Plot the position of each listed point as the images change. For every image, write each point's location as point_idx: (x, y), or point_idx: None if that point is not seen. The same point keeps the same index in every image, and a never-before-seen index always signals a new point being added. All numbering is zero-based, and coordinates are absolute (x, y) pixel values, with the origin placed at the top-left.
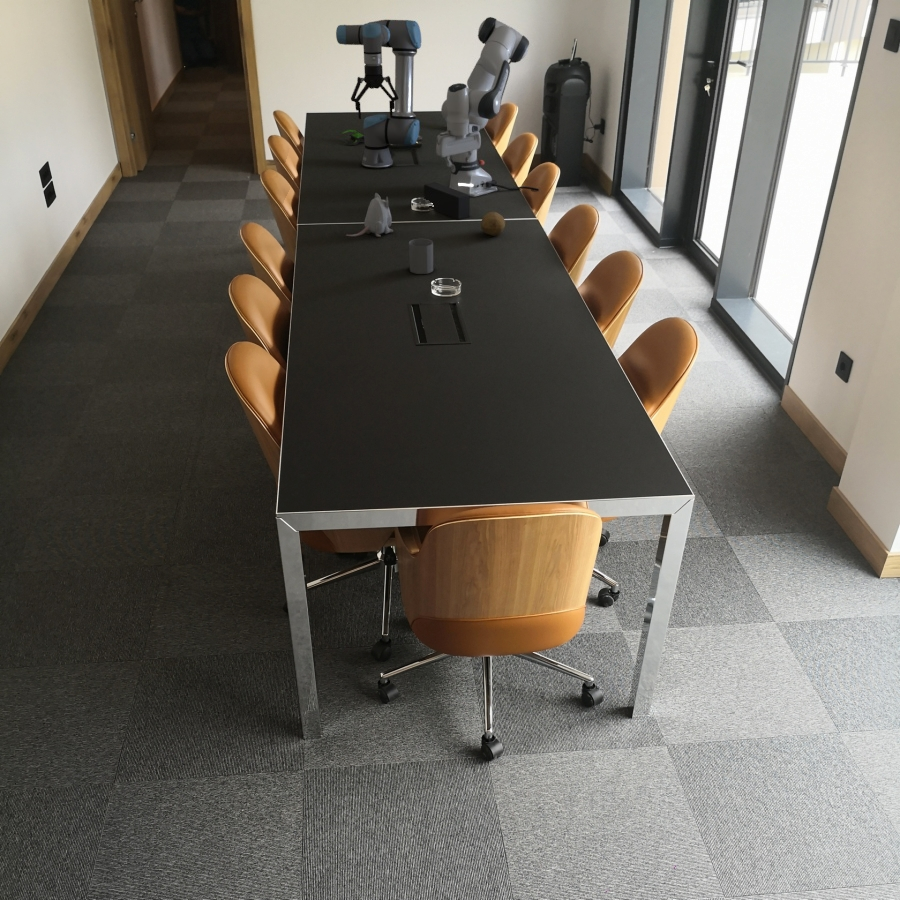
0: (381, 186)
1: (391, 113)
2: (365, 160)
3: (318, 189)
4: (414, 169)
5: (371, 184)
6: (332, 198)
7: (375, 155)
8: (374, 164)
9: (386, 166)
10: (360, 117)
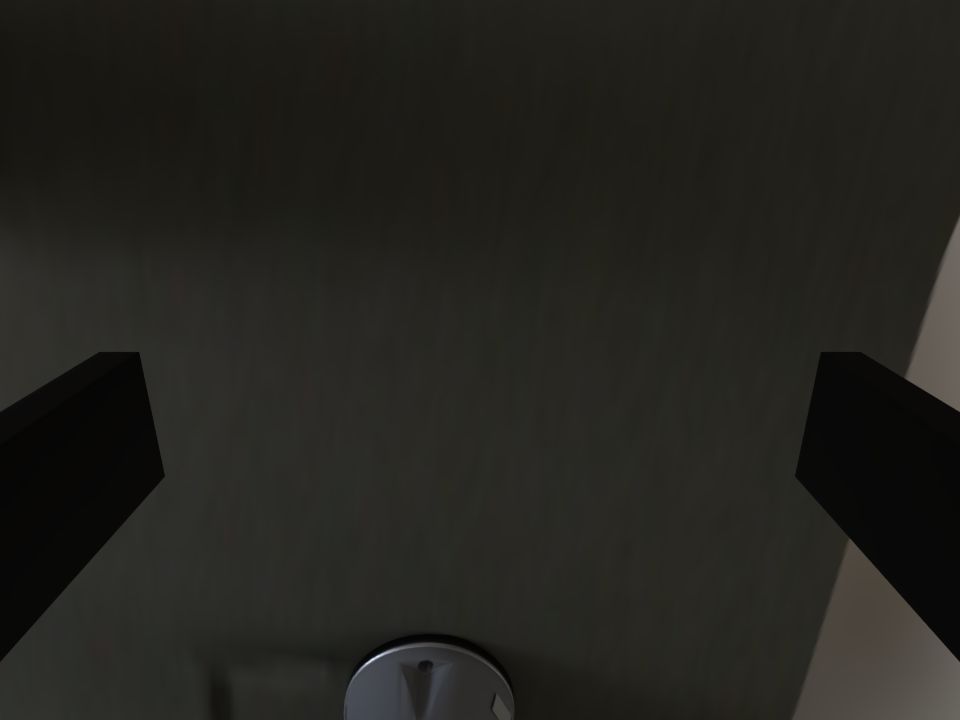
0: (450, 305)
1: (60, 389)
2: (499, 698)
3: (855, 310)
4: (230, 600)
5: (508, 359)
6: (822, 78)
7: (440, 706)
8: (452, 656)
9: (385, 648)
10: (849, 362)
